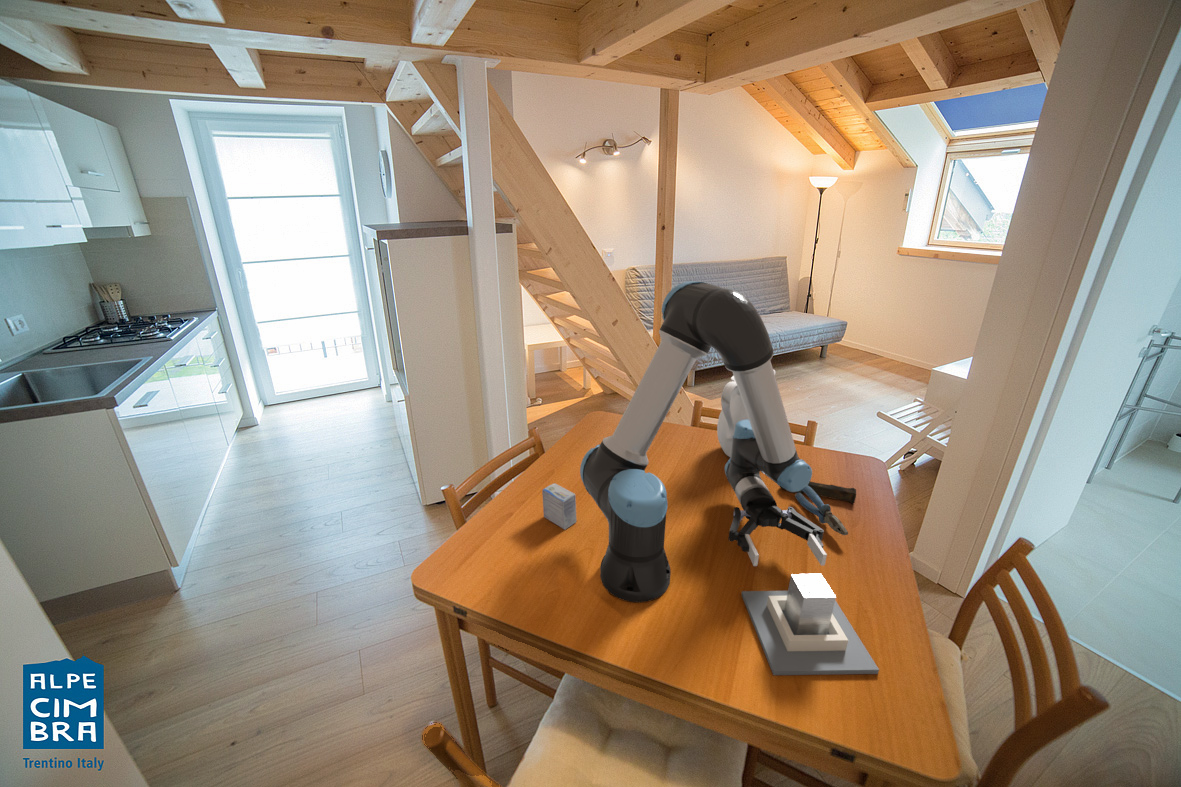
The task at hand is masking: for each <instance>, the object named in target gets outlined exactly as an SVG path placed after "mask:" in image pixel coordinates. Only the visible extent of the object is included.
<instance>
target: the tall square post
mask: <svg viewBox="0 0 1181 787" xmlns="http://www.w3.org/2000/svg"><path fill="white" fill-rule="evenodd" d="M788 583H789V584H788V589H787V591H788V593H787V599H786V604H785V609H784V616H785V618H786V620H787V622H788V624H789V626H790V629H791V631H792V633H793V635H827V632H828V628H829V624H830V620H831V616H832V611H833V607H834V603H835V600H837V596H836V594H835V593H834V592H833V590H832V589H831V587H830V585H829V584H828V582H827V581H826V579H825V578H824V576H823V575H822V573H799V574H796V573H795V574H793V573H792V574H790V579H789V582H788Z"/></svg>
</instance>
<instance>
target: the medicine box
mask: <svg viewBox="0 0 1181 787" xmlns="http://www.w3.org/2000/svg"><path fill="white" fill-rule="evenodd" d="M541 492H542V494H541V495H542V507H543V508H542V509H543V517H544V518H545V519H547V520H548V521H550V522H551V523H553V524H555V525H557V526H558V527H560V528H561V529H563V530H567V529H568V528H570V527H571V526H573V525H574V524H576V523H577V501H576V494H575V493H574V492H573V491H570V490H568V489H567V488H565V487H563V486H561V485H559V484H557V483H552V484H549V485H548V486H546V487H545V488H544V487H543V489H542V490H541Z"/></svg>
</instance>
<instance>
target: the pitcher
mask: <svg viewBox="0 0 1181 787" xmlns="http://www.w3.org/2000/svg"><path fill="white" fill-rule="evenodd" d="M773 371H774V375H775V376H776V374H777V373H776V369H774V368H773ZM730 380H731V381H729V382H727V383H726V384H725V386H724V387H723V390H722V391H721V392H722V393H721V398H720V404H721V410H720V413H719V416H718V419H717V426H716V430H717V440H718V443H719V445H720V448H721V449H722V451H723V453H724V454H725V455H726V456H727V457H728V458H729V459H730V458H731V453H732V443H733V435H734V429H735V425H736V423H737V422H739V421H741V420H749V418H748V415H747V412H746V410H745V407H744V404H743V401H742V398H741V395H740V392H739V389H738V386H737V384H736V381H735V378H734V375H733V374H732V376H731V377H730Z"/></svg>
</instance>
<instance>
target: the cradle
mask: <svg viewBox="0 0 1181 787" xmlns="http://www.w3.org/2000/svg"><path fill="white" fill-rule="evenodd" d="M787 593H788V590H742V591H741V598H742V601H743V602H744V605H745V607H746V610H747V613H748V615H749V618H750V620H751V623H752V625H753V628H754V630H755V632H756V635H757V638H758V640H759V642H760V645H761V648H762V651H763V653H764V655H765V658H766V660H767V663H768V665H769V668H770V671H771V673H772V676H805V675H806V676H809V675H811V676H814V675H816V676H817V675H818V676H819V675H821V676H823V675H829V676H830V675H878V674H879V671H880V668H879V667H878V665H877V664H876V662H875V660H874V659H873V658H872V656H871V655H870V653H869V651H868V650H867V648H866V646H865V644H863V642H862V640H861V639H860V636H859V635H858V633H857V631H855V629H854V628H853V626H852V624H851V623H850V620H848V618H847V616H846V615H845V613H844V611H843V610H842V609H841V606H840V605H839V604H838V602H837V599H835V603H834V607H833V611H832V616H831V620H830V624H829V628H828V632H827V635H793V633H792V631H791V629H790V626H789V624H788V622H787V620H786V618H785V616H784V609H785V604H786V599H787Z"/></svg>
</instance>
